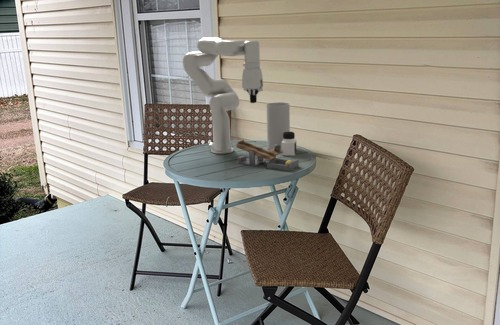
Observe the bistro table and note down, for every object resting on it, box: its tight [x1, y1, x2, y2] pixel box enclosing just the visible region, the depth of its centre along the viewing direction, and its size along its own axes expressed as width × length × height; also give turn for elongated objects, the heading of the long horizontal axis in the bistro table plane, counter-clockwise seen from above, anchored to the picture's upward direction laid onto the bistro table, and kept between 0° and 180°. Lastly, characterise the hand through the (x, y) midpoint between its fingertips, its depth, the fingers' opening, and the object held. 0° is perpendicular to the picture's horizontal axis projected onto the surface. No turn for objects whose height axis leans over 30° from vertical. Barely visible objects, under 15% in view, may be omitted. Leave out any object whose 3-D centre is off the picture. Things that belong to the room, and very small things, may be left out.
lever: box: [235, 139, 283, 161], centre depth 258 cm, size 20×16×4 cm
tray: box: [266, 157, 300, 172], centre depth 248 cm, size 13×10×4 cm
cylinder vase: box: [266, 102, 291, 151], centre depth 282 cm, size 12×12×25 cm
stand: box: [235, 147, 266, 167], centre depth 257 cm, size 12×9×7 cm
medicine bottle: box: [281, 130, 297, 157], centre depth 271 cm, size 7×7×12 cm
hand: (253, 102), depth 260 cm, fingers closed
